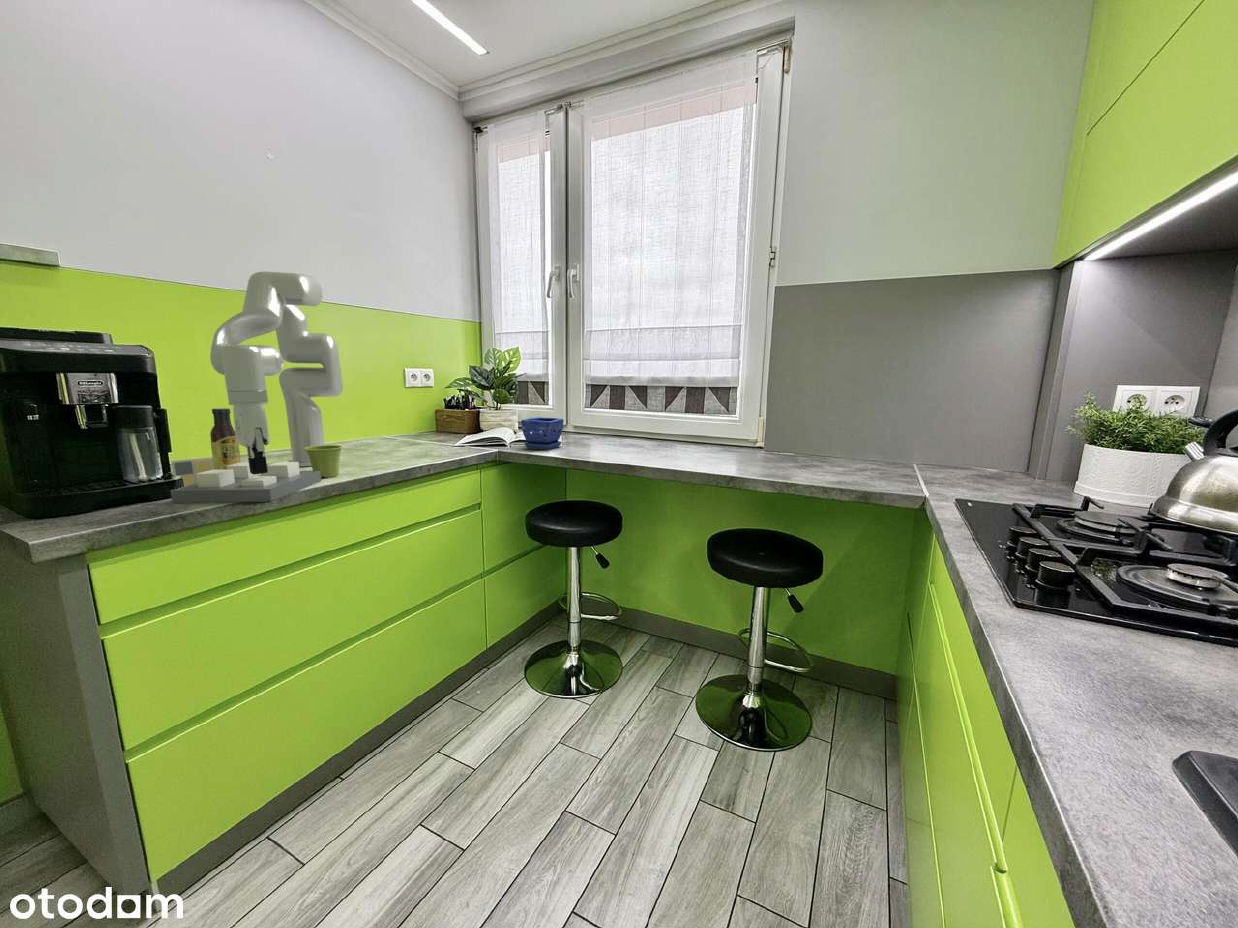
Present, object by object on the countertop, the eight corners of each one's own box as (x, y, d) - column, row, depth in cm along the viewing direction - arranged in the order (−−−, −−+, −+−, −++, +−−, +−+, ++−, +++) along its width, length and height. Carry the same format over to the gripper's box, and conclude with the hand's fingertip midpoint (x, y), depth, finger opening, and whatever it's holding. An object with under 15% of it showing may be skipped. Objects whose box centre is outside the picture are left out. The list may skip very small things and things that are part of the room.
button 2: (242, 477, 130) (240, 462, 129) (261, 476, 130) (259, 462, 130) (228, 481, 125) (226, 465, 125) (249, 480, 126) (246, 465, 125)
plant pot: (332, 471, 148) (329, 444, 147) (352, 474, 144) (349, 446, 142) (300, 477, 140) (297, 448, 138) (321, 480, 136) (317, 450, 134)
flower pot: (565, 446, 201) (564, 418, 199) (549, 451, 189) (549, 420, 186) (537, 444, 206) (536, 416, 203) (520, 449, 193) (519, 419, 191)
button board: (238, 482, 134) (237, 471, 133) (321, 481, 135) (320, 470, 135) (172, 503, 112) (170, 490, 112) (271, 501, 114) (269, 489, 113)
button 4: (281, 476, 131) (279, 462, 130) (300, 476, 131) (298, 461, 130) (269, 480, 126) (267, 465, 125) (289, 480, 126) (287, 465, 126)
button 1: (214, 485, 120) (211, 469, 120) (235, 485, 121) (233, 469, 120) (198, 490, 115) (196, 473, 115) (220, 489, 116) (218, 473, 115)
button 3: (257, 491, 121) (255, 476, 121) (278, 491, 122) (276, 476, 121) (243, 496, 116) (241, 480, 116) (265, 496, 117) (263, 480, 116)
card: (176, 491, 123) (171, 460, 122) (216, 486, 128) (212, 457, 127) (176, 492, 123) (171, 461, 121) (217, 487, 128) (212, 457, 126)
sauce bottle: (227, 479, 137) (216, 409, 134) (209, 478, 138) (198, 409, 135) (248, 474, 144) (239, 407, 140) (231, 473, 145) (221, 407, 141)
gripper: (221, 397, 117) (232, 471, 121) (236, 400, 107) (248, 480, 111) (258, 396, 122) (268, 466, 126) (276, 399, 113) (286, 475, 117)
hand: (259, 473), depth 119 cm, fingers closed
